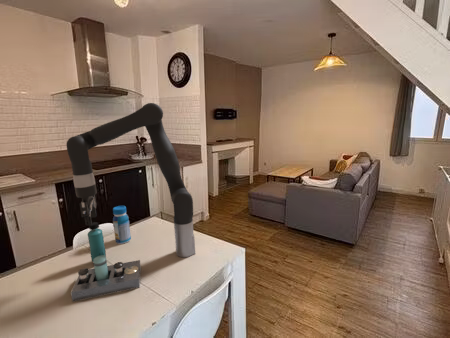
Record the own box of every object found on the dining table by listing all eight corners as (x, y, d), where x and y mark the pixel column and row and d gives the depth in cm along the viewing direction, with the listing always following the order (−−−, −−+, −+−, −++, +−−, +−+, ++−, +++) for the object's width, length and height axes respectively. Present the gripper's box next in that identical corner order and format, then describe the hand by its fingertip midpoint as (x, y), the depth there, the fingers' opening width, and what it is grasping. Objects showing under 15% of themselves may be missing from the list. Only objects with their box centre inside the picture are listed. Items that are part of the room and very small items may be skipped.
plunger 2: (124, 271, 103) (123, 261, 102) (123, 276, 100) (122, 266, 99) (115, 273, 102) (114, 262, 101) (114, 278, 98) (112, 267, 98)
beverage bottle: (100, 266, 112) (94, 226, 108) (88, 265, 113) (82, 226, 109) (109, 258, 118) (104, 221, 114) (98, 257, 120) (92, 220, 116)
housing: (140, 267, 110) (139, 259, 109) (139, 287, 97) (138, 278, 96) (82, 279, 103) (80, 270, 102) (72, 301, 90) (70, 291, 89)
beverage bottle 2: (127, 244, 132) (123, 210, 128) (112, 244, 132) (108, 210, 128) (133, 237, 140) (129, 204, 136) (119, 237, 140) (115, 205, 137)
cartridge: (110, 279, 102) (107, 254, 100) (108, 286, 98) (105, 260, 96) (98, 282, 101) (94, 256, 99) (96, 289, 97) (91, 262, 94)
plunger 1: (90, 277, 99) (89, 267, 98) (88, 283, 96) (87, 272, 95) (81, 279, 98) (79, 269, 97) (78, 285, 95) (76, 274, 94)
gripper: (90, 187, 93) (97, 226, 96) (98, 179, 106) (104, 213, 110) (68, 190, 91) (76, 229, 94) (80, 181, 104) (86, 216, 108)
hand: (91, 220), depth 102 cm, fingers open, 8 cm apart
